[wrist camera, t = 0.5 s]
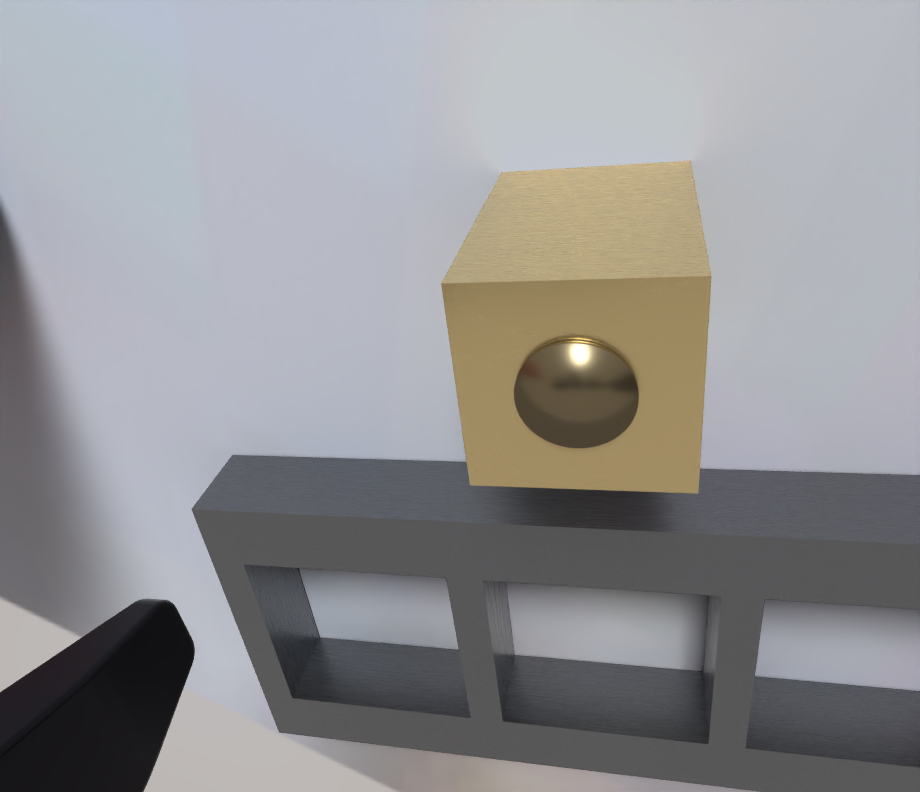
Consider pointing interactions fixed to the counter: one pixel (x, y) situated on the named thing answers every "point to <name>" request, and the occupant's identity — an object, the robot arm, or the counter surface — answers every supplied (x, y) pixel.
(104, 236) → the counter surface
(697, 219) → the brass block
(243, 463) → the tray
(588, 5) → the counter surface
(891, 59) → the counter surface
